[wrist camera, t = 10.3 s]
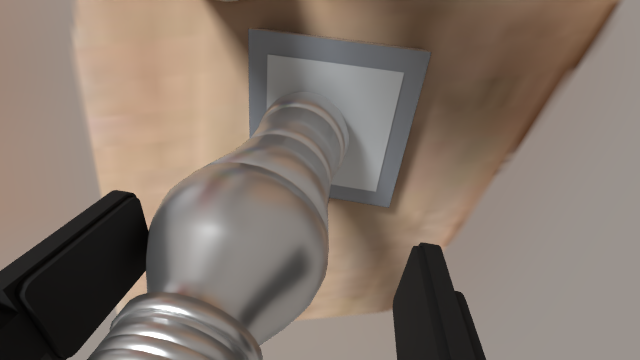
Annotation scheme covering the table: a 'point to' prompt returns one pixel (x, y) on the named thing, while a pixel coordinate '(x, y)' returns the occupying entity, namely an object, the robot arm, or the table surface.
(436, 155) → the table surface
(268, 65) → the slate pedestal
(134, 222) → the robot arm
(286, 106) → the metal water bottle
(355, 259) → the table surface
